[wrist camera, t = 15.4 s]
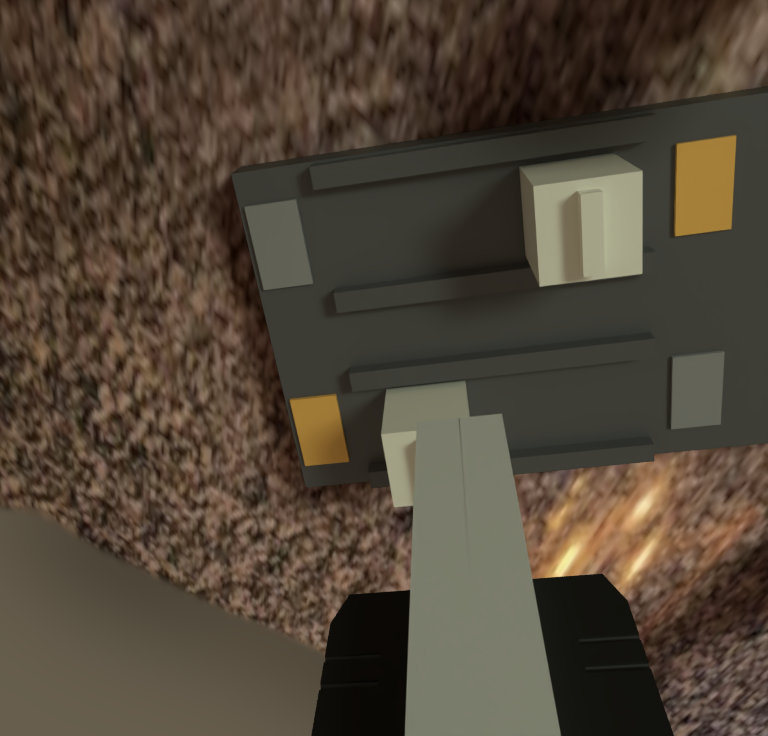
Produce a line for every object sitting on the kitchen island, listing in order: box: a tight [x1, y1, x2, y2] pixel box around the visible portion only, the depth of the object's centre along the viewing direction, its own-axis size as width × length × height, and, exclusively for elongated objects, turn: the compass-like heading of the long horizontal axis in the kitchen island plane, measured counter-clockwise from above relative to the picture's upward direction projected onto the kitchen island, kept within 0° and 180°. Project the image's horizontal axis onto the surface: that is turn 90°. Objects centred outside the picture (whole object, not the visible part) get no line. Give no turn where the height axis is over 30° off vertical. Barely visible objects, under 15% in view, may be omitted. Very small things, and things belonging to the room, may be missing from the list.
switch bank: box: [231, 86, 768, 488], centre depth 34 cm, size 17×28×3 cm, turn 99°
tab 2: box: [381, 380, 470, 507], centre depth 34 cm, size 4×4×5 cm
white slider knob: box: [519, 153, 643, 287], centre depth 29 cm, size 4×4×5 cm
